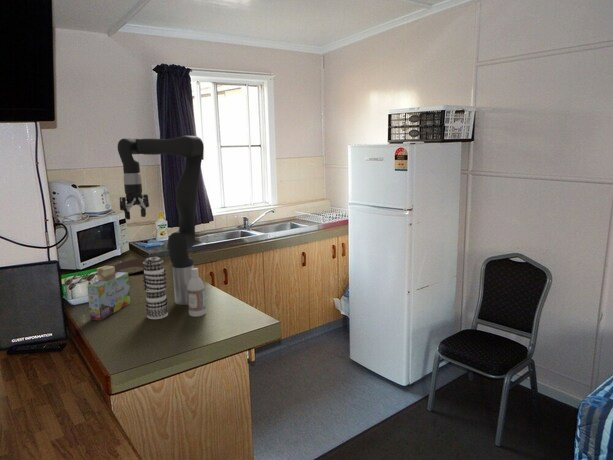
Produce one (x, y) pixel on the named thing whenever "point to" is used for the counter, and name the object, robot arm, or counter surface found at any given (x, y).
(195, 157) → the robot arm
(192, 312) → the bath foam
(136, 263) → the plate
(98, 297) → the snack box
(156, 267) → the decorative candle
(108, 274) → the maple block
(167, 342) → the counter surface
